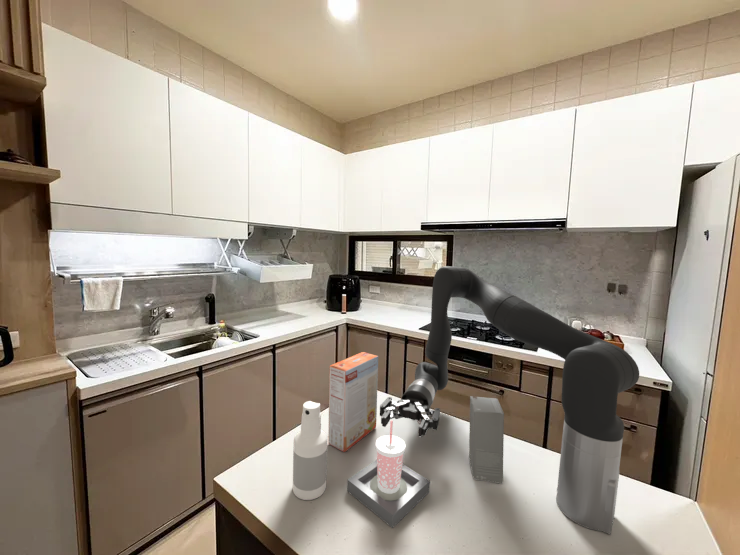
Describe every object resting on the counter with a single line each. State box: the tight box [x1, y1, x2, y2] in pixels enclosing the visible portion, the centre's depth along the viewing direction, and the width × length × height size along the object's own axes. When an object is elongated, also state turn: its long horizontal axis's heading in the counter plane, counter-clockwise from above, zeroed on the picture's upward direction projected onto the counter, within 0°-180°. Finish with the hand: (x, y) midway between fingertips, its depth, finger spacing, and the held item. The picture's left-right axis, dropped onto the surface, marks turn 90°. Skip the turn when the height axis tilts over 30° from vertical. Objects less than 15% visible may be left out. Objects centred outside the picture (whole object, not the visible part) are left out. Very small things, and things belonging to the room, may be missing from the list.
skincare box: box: [468, 395, 505, 484], centre depth 72 cm, size 8×7×16 cm
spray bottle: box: [292, 400, 328, 501], centre depth 64 cm, size 7×7×18 cm
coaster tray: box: [346, 459, 431, 529], centre depth 64 cm, size 12×12×2 cm
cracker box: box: [327, 351, 379, 453], centre depth 82 cm, size 14×6×21 cm, turn 144°
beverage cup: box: [375, 419, 407, 494], centre depth 64 cm, size 6×6×14 cm
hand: (401, 427), depth 70 cm, fingers open, 8 cm apart
